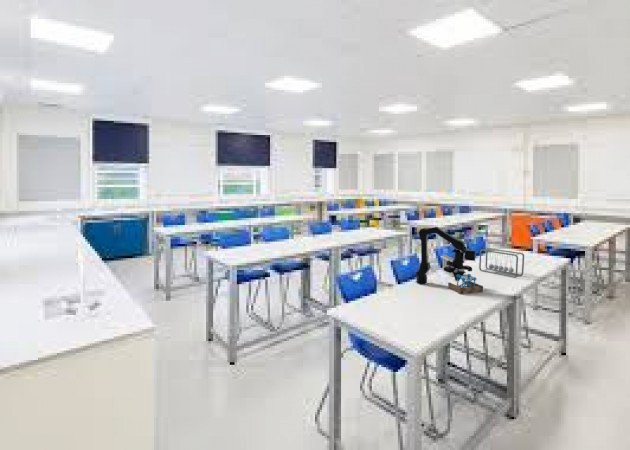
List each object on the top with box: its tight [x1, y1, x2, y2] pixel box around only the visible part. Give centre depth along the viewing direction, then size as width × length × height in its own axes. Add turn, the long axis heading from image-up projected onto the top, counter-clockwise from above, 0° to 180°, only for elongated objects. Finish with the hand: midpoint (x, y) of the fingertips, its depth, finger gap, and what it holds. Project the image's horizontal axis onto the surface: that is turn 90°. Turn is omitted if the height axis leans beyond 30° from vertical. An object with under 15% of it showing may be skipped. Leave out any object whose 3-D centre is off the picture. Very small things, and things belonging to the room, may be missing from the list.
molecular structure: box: [456, 273, 477, 288], centre depth 250 cm, size 10×10×10 cm
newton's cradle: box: [478, 247, 525, 279], centre depth 292 cm, size 30×10×18 cm, turn 36°
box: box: [447, 281, 484, 295], centre depth 250 cm, size 16×14×4 cm
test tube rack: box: [439, 253, 454, 278], centre depth 297 cm, size 25×4×13 cm, turn 2°
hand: (457, 281), depth 257 cm, fingers closed
